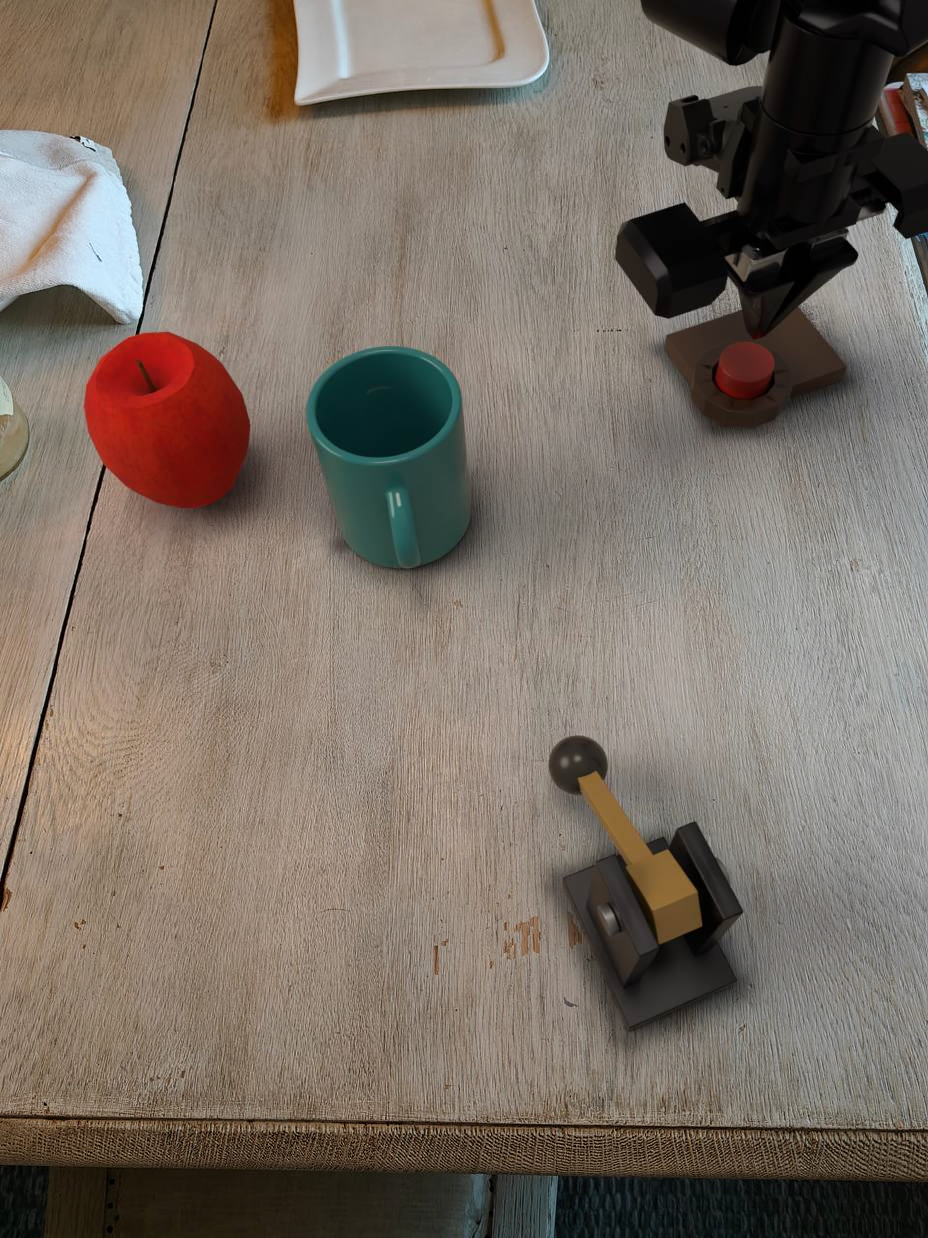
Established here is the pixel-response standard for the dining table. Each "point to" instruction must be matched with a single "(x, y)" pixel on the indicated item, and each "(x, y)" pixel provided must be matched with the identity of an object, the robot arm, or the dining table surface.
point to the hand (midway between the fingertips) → (755, 333)
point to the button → (744, 370)
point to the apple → (167, 420)
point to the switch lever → (628, 841)
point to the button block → (796, 372)
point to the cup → (393, 454)
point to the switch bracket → (626, 943)
